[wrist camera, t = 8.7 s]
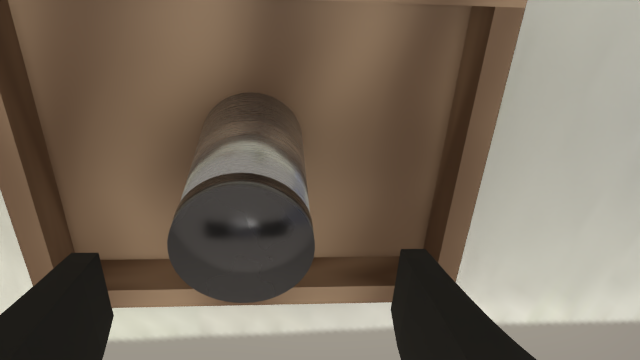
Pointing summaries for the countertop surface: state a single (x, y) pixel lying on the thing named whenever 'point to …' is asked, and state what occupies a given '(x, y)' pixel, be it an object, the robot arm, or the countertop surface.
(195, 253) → the steel shaker
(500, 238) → the countertop surface
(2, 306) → the countertop surface
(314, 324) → the countertop surface
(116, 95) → the walnut tray
